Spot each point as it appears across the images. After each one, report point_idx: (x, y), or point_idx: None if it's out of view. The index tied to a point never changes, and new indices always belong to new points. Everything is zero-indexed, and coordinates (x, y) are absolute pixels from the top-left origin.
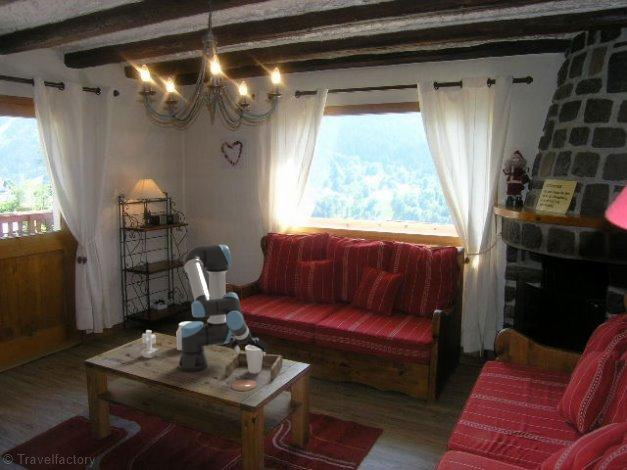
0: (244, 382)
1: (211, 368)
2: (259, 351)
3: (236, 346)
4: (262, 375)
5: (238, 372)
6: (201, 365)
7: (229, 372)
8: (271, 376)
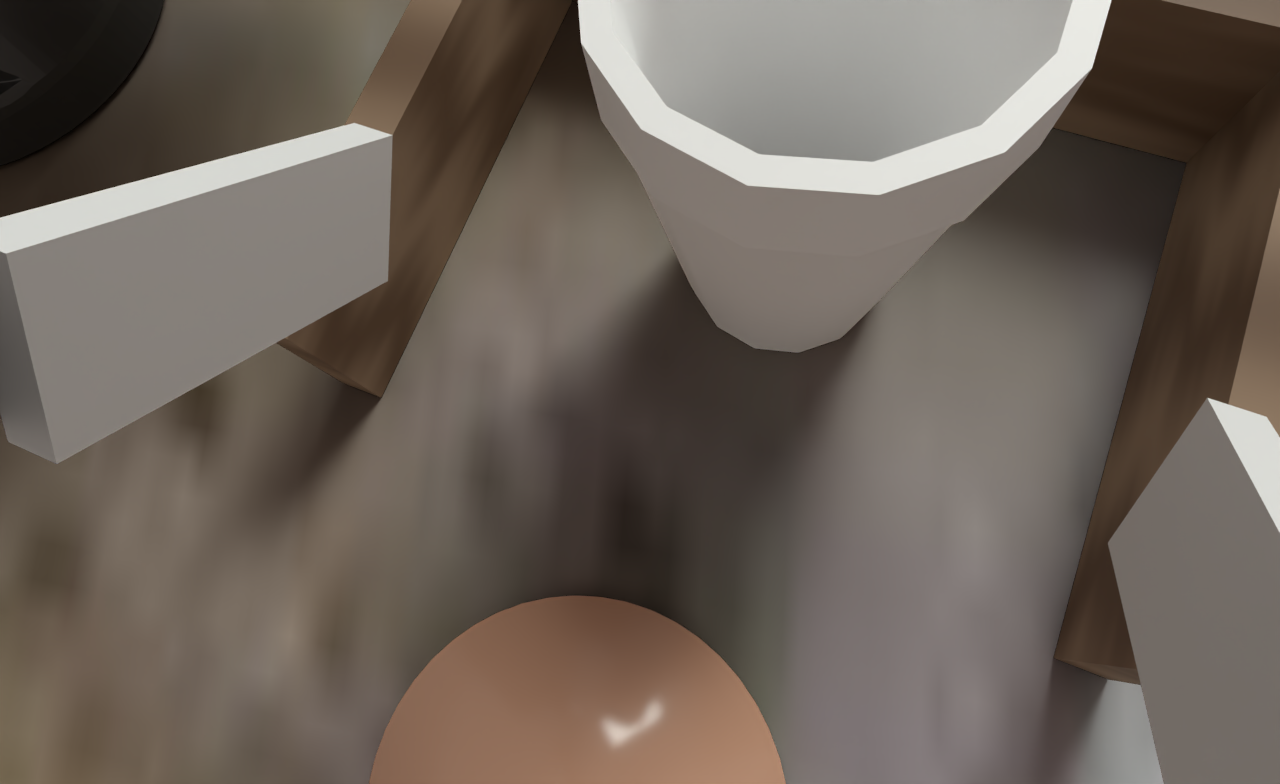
0: (586, 732)
1: (194, 98)
2: (972, 186)
3: (61, 358)
4: (905, 447)
5: (535, 276)
6: (9, 95)
7: (374, 353)
8: (1094, 666)
